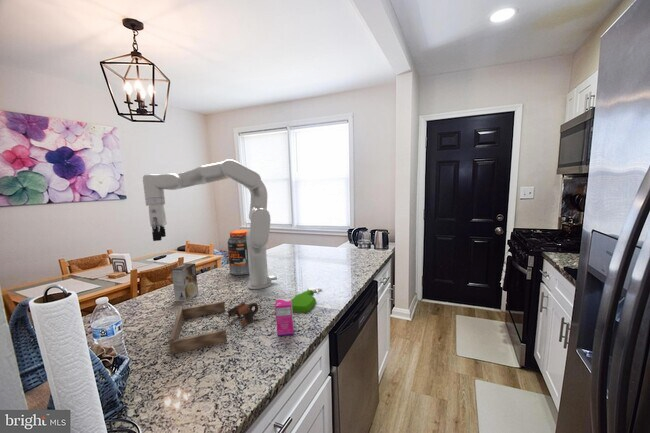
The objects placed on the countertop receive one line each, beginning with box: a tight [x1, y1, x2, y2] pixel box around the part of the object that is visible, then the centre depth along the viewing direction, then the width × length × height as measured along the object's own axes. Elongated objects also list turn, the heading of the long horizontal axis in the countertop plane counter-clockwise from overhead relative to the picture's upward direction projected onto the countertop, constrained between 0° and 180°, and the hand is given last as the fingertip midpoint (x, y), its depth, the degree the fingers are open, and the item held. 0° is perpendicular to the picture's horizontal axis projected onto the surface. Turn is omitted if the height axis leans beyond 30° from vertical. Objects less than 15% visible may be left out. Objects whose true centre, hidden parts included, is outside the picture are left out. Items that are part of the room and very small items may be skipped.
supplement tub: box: [227, 229, 249, 276], centre depth 169 cm, size 16×16×26 cm
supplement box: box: [274, 297, 295, 337], centre depth 97 cm, size 6×6×12 cm
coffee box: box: [171, 262, 199, 302], centre depth 132 cm, size 9×6×16 cm
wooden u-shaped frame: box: [168, 300, 228, 355], centre depth 102 cm, size 17×26×5 cm, turn 22°
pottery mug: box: [227, 301, 259, 328], centre depth 108 cm, size 12×10×8 cm
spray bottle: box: [291, 287, 323, 313], centre depth 124 cm, size 3×11×24 cm
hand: (159, 238), depth 125 cm, fingers open, 9 cm apart
